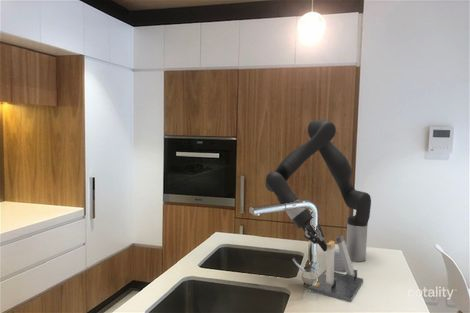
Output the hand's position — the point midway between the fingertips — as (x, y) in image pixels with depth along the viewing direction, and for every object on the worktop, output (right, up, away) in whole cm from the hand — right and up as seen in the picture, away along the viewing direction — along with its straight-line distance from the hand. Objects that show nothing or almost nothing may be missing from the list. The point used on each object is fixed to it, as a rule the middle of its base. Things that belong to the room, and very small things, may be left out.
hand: (327, 249), depth 137 cm
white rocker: (+1, -15, +1) cm, 15 cm away
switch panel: (+5, -16, +6) cm, 18 cm away
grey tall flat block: (+13, -14, +9) cm, 21 cm away
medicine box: (+10, -15, +23) cm, 29 cm away
